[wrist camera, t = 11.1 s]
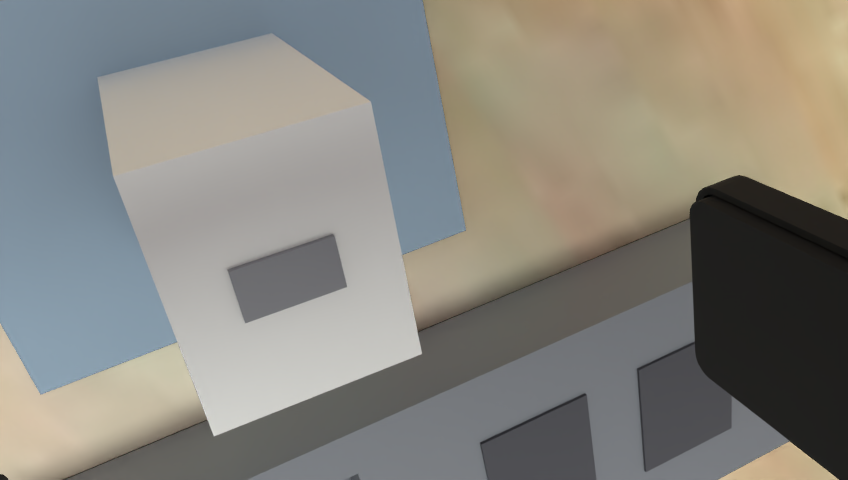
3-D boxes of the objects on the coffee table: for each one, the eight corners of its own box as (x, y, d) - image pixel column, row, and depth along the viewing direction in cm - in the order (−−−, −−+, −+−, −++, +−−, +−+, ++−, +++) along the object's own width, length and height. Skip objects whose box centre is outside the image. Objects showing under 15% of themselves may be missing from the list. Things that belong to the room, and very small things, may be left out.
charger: (271, 33, 18) (373, 103, 12) (319, 220, 20) (424, 356, 14) (97, 77, 17) (113, 178, 11) (169, 270, 19) (215, 439, 13)
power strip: (751, 192, 27) (840, 231, 24) (747, 388, 31) (822, 442, 28) (-28, 518, 20) (-46, 632, 17) (105, 710, 24) (110, 829, 21)
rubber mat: (397, -101, 18) (403, -101, 18) (460, 225, 23) (465, 230, 22) (-155, 38, 15) (-159, 41, 15) (41, 386, 19) (40, 394, 19)
